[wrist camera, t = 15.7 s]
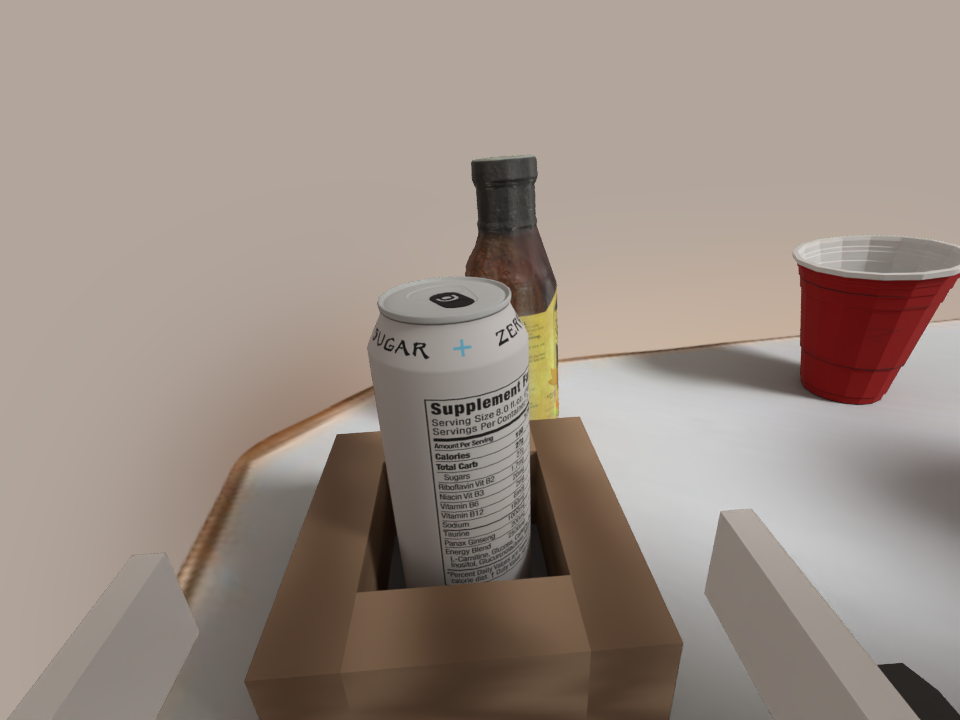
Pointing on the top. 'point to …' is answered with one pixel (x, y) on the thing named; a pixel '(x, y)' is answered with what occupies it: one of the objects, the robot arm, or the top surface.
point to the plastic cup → (867, 309)
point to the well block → (468, 608)
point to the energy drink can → (455, 429)
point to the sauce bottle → (519, 266)
